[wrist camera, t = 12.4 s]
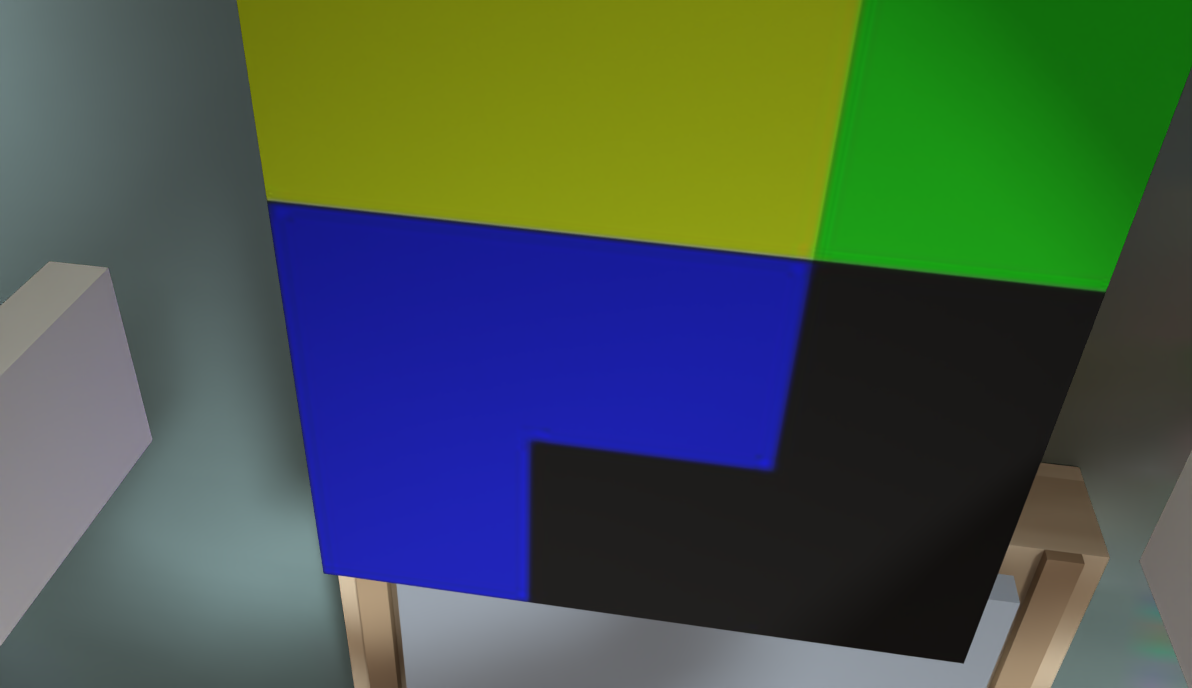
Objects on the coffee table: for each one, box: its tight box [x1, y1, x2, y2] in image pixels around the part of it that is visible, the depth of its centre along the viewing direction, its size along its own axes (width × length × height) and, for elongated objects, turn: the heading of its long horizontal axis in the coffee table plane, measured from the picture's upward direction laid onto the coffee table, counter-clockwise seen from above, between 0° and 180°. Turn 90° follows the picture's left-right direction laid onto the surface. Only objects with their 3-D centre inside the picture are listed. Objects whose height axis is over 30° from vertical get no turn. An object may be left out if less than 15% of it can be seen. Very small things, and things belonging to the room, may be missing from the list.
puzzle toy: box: [237, 0, 1192, 664], centre depth 18 cm, size 10×10×10 cm
